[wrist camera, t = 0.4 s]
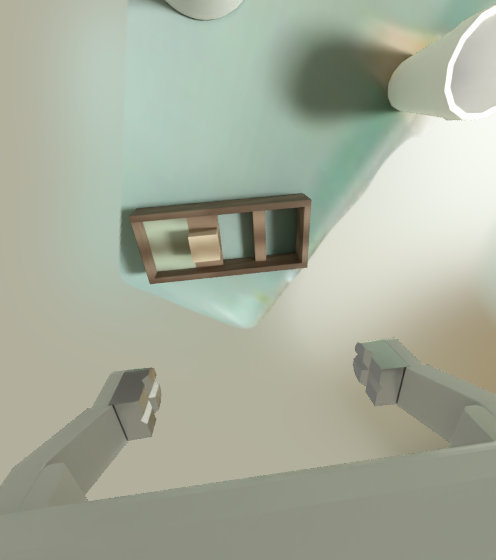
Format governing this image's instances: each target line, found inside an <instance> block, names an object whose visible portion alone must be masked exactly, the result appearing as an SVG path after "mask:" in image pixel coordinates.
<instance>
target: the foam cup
mask: <svg viewBox="0 0 496 560" xmlns="http://www.w3.org/2000/svg"><path fill="white" fill-rule="evenodd" d="M388 99H389V101H390V104H391V106H392V107H394V108H395V109H397V110H398V111H403V112H410V113H416V114H423V115H429V116H436V117H442V118H444V119H445V120H475V119H482V118H483V117H485V116H488V115H490V114H492V113H494V112H496V4H495V5H492V6H490V7H488V8H486V9H484V10H482V11H480V12H478V13H477V14H475V15H473V16H471V17H470V18H468V19H466V20H464V21H463V22H461V23H460V24H459V25H458V27H457V28H455V29H454V30H452V31H450V32H449V33H447V34H446V35H444V36H443V37H441V38H439V39H438V40H436V41H435V42H433V43H431V44H430V45H428V46H427V47H425V48H423V49H422V50H420V51H419V52H417V53H416V54H414V55H412V56H411V57H409V58H408V59H406V60H404V61H403V62H402V63H401V64H400V65H399V66H398V67H397V69H396V70H395V71H394V72H393V74H392V77H391V79H390V82H389V84H388Z"/></svg>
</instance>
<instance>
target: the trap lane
mask: <svg viewBox="0 0 496 560" xmlns="http://www.w3.org/2000/svg"><path fill="white" fill-rule="evenodd" d="M286 208H297V221H296V250H295V253H287V254H277V255H267V256H266V233H265V210H275V209H286ZM243 212H252V224H253V241H254V257H248V258H238V259H228V260H223V255H222V247H221V239H220V232H219V224H218V216H217V215H222V214H233V213H243ZM310 214H311V199H310V198H308V197H307V196H306V195H305V194H292V195H281V196H270V197H259V198H248V199H237V200H226V201H215V202H204V203H193V204H182V205H171V206H160V207H149V208H138V209H136V210H135V211H134V212H133V213H132V214H131V215H130V216H129V219H130V222H131V225H132V228H133V232H134V235H135V238H136V241H137V244H138V248H139V251H140V254H141V257H142V260H143V263H144V267H145V270H146V273H147V276H148V279H149V282H150V284H155V283H165V282H174V281H184V280H193V279H203V278H212V277H222V276H231V275H241V274H250V273H260V272H269V271H278V270H288V269H297V268H307V262H308V246H309V230H310ZM211 227H217V232H218V239H219V247H220V260H215V261H205V262H195V263H193V260H192V255H191V250H190V245H189V240H188V235H189V232H190V230H191V229H201V228H211Z"/></svg>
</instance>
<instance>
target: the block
mask: <svg viewBox="0 0 496 560" xmlns="http://www.w3.org/2000/svg"><path fill="white" fill-rule="evenodd" d="M188 240H189V245H190V250H191V255H192V260H193V263H195V262H205V261H215V260H220V247H219V239H218V232H217V227H211V228H201V229H191V230H190V232H189V235H188Z"/></svg>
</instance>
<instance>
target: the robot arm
mask: <svg viewBox="0 0 496 560" xmlns="http://www.w3.org/2000/svg"><path fill="white" fill-rule="evenodd" d="M165 1H166V2H167V3H168V4H169V5H171V6H172V7H173V8H174V9H176V10H177V11H179V12H181V13H182V14H184V15H186V16H189V17H192V18H195V19H200V20H211V19H217V18H220V17H222V16H225V15H227V14H228V13H230V12H231V11H233V10H234V9H235V8H236V7H237V6H238V5H240V3H241V2H242V1H243V0H165ZM355 351H356V353H357V354H358V355H357V356H356V357H355V358H354V362H353V367H354V372H355V375H356V377H357V379H358V381H359V382H360V383H361V384H363V385H364V386H366V393H367V395H368V396H369V398H370V399H371V401H372V402H373V404H374V406H382V405H391V404H397V405H398V406H399V407H401V408H402V409H403V410H405V411H406V412H407V413H409V414H410V415H412V416H413V417H414V418H416V419H417V420H418V421H420V422H421V423H423V424H424V425H425V426H427V427H428V428H430V429H431V430H432V431H434V432H435V433H437V434H438V435H439V436H441V437H442V438H444V439H445V440H446V441H448V442H449V443H450V445H449V447H448V448H445V449H438V450H432V451H425V452H418V453H411V454H405V455H398V456H391V457H384V458H378V459H371V460H364V461H357V462H351V463H344V464H337V465H331V466H324V467H317V468H311V469H305V470H298V471H291V472H284V473H277V474H270V475H263V476H257V477H250V478H243V479H236V480H229V481H223V482H216V483H209V484H203V485H196V486H189V487H182V488H175V489H169V490H163V491H155V492H149V493H141V494H135V495H128V496H121V497H115V498H108V499H101V500H95V501H88V499H87V498H86V497H85V494H86V493H87V492H88V491H89V489H90V488H91V487H92V486H93V485H94V483H95V482H96V481H97V480H98V478H99V477H100V476H101V475H102V473H103V472H104V471H105V470H106V468H107V467H108V466H109V465H110V463H111V462H112V461H113V460H114V459H115V457H116V456H117V455H118V454H119V452H120V451H121V450H122V448H123V447H124V446H125V445H126V443H127V441H129V440H135V439H141V438H147V437H152V433H153V430H154V426H155V422H156V418H155V415H154V414H155V413H156V411H158V410H159V407H160V403H161V388H160V385H159V383H158V382H156V381H155V379H156V372H155V370H154V368H143V369H134V370H126V371H115V372H113V373H111V374H110V376H109V377H108V379H107V381H106V383H105V385H104V387H103V388H102V390H101V392H100V394H99V396H98V397H97V399H96V401H95V403H94V405H93V407H92V408H87V409H86V410H85V411H84V412H82V413H81V414H80V415H79V416H77V417H76V418H75V419H74V420H72V421H71V422H70V423H69V424H67V425H66V426H65V427H64V428H62V429H61V430H60V431H59V432H57V433H56V434H55V435H54V436H52V437H51V438H50V439H49V440H48V441H46V442H45V443H44V444H42V445H41V446H40V447H39V448H37V449H36V450H35V451H34V452H32V453H31V454H30V455H29V456H28V457H26V458H25V459H24V460H23V461H21V462H20V463H19V464H17V465H16V466H15V467H14V468H13V469H12V470H11V472H10V473H9V474H8V476H7V477H6V479H5V480H4V481H3V483H2V484H1V486H0V560H496V394H494V393H491V392H489V391H487V390H484V389H482V388H480V387H478V386H475V385H473V384H471V383H469V382H466V381H464V380H462V379H459V378H457V377H455V376H453V375H450V374H448V373H446V372H444V371H441V370H439V369H436V368H434V367H432V366H430V365H428V364H427V365H423V364H422V363H421V362H420V361H419V360H418V359H417V358H416V357H415V356H414V355H413V354H412V353H411V352H410V351H409V350H408V349H407V348H406V347H405V346H404V345H403V344H402V343H401V342H400V341H399V340H398V339H396V338H394V337H393V338H386V339H381V340H372V341H364V342H357V344H356V346H355Z"/></svg>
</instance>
